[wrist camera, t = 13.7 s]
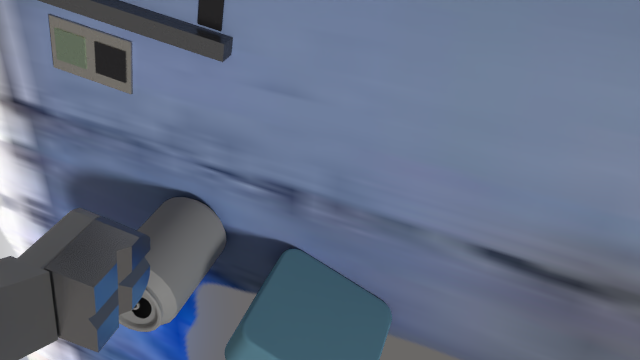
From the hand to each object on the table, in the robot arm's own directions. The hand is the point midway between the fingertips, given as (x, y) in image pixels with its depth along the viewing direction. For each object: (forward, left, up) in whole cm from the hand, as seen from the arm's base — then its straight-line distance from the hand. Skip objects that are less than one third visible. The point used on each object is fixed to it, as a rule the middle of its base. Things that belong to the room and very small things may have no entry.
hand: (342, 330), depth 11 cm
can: (+8, -36, -33) cm, 50 cm away
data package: (+20, -27, -33) cm, 47 cm away
